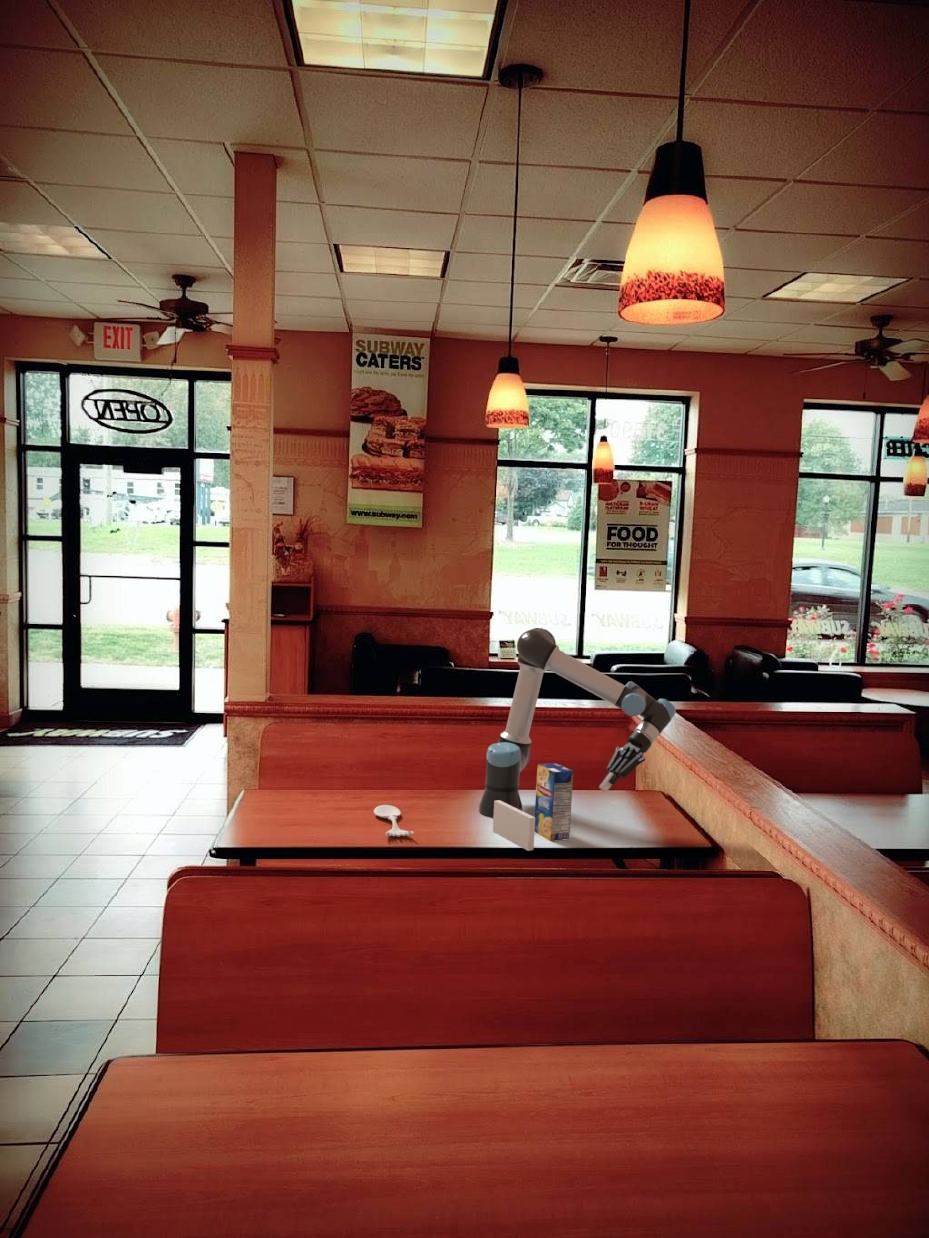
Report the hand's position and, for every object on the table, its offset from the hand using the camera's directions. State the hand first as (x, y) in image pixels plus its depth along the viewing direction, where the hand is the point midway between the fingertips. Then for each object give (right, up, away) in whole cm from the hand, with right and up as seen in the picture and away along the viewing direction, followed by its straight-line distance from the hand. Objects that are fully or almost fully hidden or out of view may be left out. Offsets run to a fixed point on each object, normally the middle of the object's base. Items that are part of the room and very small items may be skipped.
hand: (602, 789), depth 278 cm
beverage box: (-18, -13, -9) cm, 24 cm away
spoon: (-69, -10, -9) cm, 71 cm away
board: (-31, -12, -17) cm, 37 cm away
